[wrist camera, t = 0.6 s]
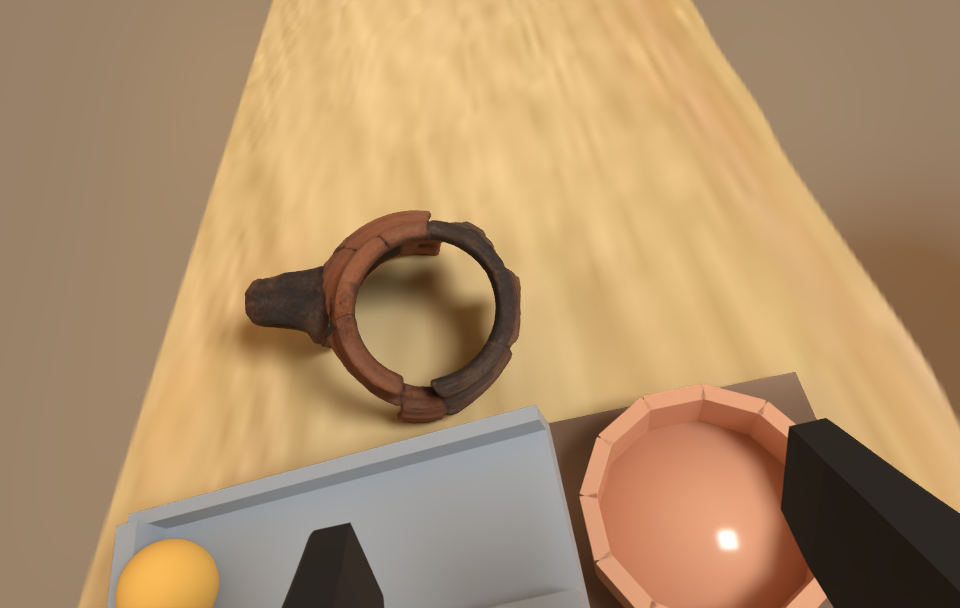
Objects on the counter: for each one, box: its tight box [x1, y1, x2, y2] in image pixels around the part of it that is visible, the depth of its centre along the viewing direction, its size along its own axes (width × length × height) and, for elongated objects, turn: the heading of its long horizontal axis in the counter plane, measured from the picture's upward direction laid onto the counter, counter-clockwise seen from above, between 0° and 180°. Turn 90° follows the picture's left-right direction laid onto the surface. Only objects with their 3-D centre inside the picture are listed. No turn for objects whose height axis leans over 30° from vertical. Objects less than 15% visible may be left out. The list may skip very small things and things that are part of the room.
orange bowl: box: [580, 384, 827, 608], centre depth 25 cm, size 9×9×3 cm
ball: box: [116, 539, 219, 608], centre depth 22 cm, size 3×3×3 cm
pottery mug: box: [245, 211, 521, 422], centre depth 31 cm, size 12×10×8 cm
